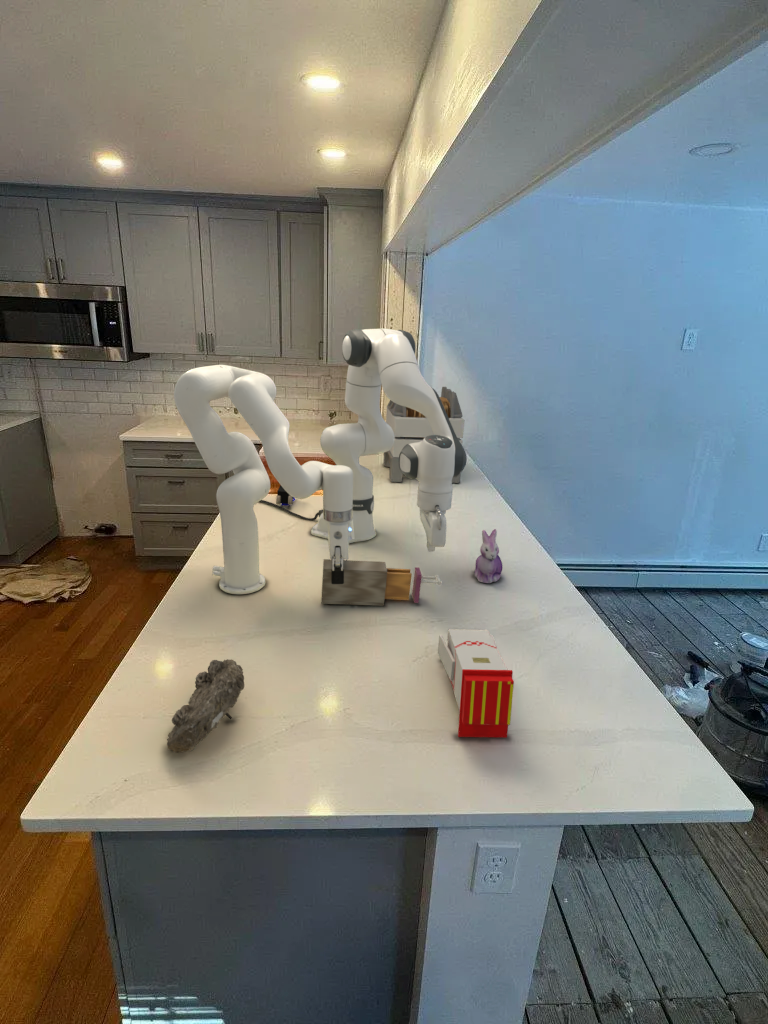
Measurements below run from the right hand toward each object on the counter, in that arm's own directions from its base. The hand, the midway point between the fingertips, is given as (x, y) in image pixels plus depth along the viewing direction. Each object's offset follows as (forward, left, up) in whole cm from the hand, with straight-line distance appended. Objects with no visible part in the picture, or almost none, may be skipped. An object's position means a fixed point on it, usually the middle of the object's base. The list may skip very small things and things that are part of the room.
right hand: (430, 549), depth 150 cm
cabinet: (-19, -7, -15) cm, 25 cm away
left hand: (-23, -9, -8) cm, 26 cm away
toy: (+17, -36, -15) cm, 42 cm away
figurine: (+14, +20, -15) cm, 29 cm away
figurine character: (-69, +57, -15) cm, 91 cm away
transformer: (-30, +124, -15) cm, 128 cm away
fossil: (-29, -60, -15) cm, 68 cm away
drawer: (-7, -3, -14) cm, 16 cm away
